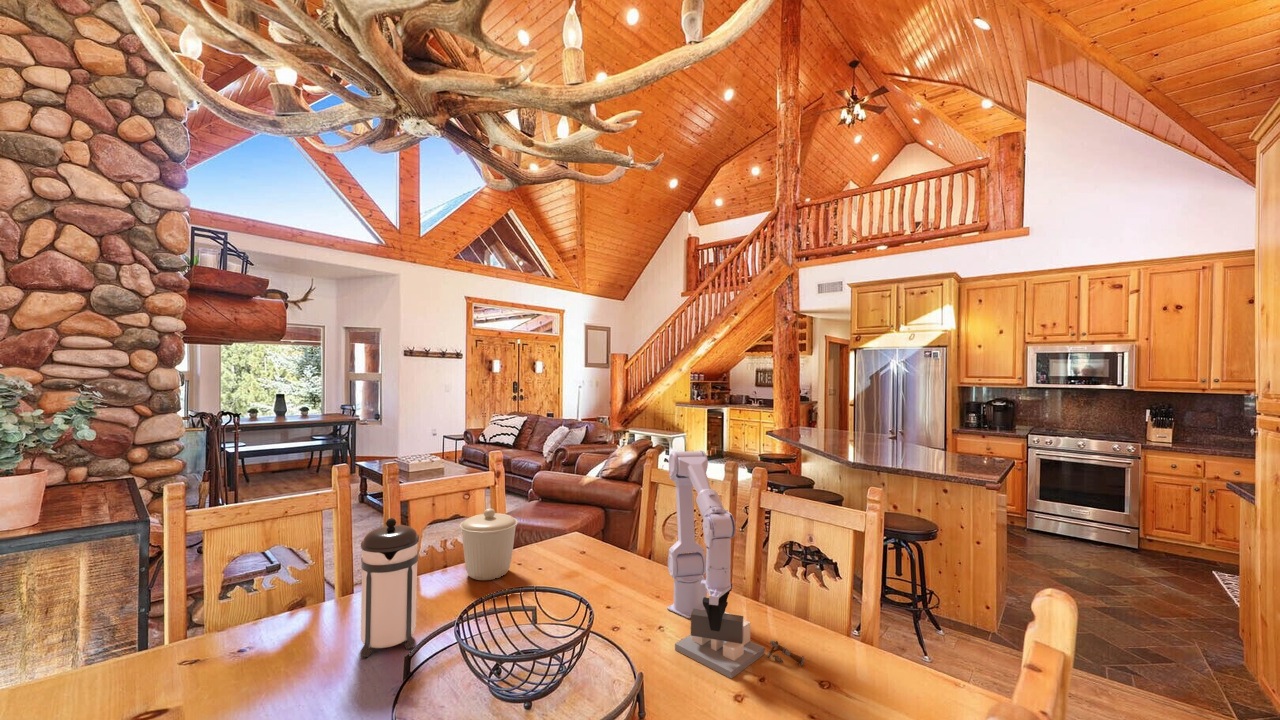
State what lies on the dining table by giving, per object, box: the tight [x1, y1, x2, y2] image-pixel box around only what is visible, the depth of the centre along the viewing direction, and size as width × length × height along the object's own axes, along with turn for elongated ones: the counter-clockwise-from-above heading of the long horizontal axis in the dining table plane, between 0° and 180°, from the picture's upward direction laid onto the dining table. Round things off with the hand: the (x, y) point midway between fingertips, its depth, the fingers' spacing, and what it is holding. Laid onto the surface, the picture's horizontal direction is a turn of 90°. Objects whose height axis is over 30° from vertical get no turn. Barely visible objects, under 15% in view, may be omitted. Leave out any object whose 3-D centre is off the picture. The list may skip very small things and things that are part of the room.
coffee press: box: [360, 517, 420, 659], centre depth 126 cm, size 17×16×30 cm
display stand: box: [674, 611, 766, 679], centre depth 123 cm, size 14×16×6 cm
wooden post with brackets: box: [766, 640, 805, 667], centre depth 119 cm, size 2×8×4 cm, turn 74°
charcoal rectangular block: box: [690, 609, 744, 644], centre depth 122 cm, size 3×12×5 cm, turn 74°
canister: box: [459, 507, 519, 581], centre depth 166 cm, size 18×18×21 cm
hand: (717, 622), depth 122 cm, fingers open, 7 cm apart
